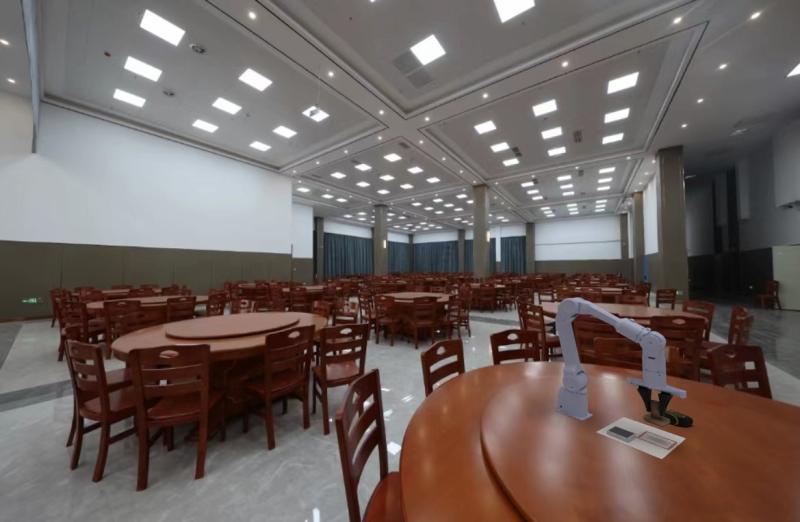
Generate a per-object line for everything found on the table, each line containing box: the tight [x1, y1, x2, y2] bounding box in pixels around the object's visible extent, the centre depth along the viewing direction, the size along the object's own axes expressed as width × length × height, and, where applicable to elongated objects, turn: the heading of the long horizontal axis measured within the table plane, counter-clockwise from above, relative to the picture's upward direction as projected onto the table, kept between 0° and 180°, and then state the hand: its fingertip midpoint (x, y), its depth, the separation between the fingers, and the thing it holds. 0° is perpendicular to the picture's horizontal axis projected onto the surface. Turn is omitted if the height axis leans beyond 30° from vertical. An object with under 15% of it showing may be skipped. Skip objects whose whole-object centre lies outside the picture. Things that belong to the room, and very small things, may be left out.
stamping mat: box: [596, 416, 687, 460], centre depth 96 cm, size 17×21×2 cm
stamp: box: [642, 399, 671, 428], centre depth 94 cm, size 5×5×6 cm
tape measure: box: [664, 409, 694, 428], centre depth 105 cm, size 7×7×4 cm
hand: (655, 413), depth 93 cm, fingers closed on stamp, 3 cm apart
